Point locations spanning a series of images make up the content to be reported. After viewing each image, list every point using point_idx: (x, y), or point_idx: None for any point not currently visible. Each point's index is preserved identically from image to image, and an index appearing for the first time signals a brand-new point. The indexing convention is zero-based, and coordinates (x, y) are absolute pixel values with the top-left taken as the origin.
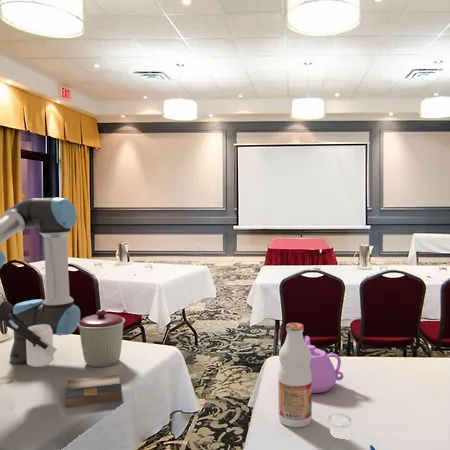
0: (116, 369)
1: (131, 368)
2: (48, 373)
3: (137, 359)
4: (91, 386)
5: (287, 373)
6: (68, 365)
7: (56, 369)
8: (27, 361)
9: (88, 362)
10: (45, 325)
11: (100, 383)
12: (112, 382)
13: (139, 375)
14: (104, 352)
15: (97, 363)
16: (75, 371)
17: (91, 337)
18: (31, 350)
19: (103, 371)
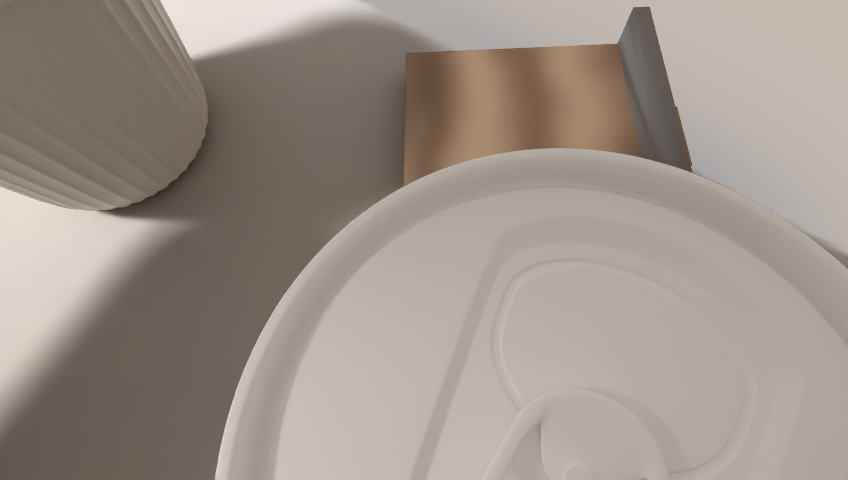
0: (258, 85)
1: (276, 32)
2: (141, 417)
3: (176, 10)
4: (674, 125)
5: None
6: (71, 306)
7: (98, 372)
8: None
9: (153, 187)
10: (313, 302)
11: (502, 121)
12: (504, 75)
13: (371, 8)
14: (182, 68)
15: (195, 144)
16: (189, 263)
17: (81, 50)
18: None
19: (257, 136)
